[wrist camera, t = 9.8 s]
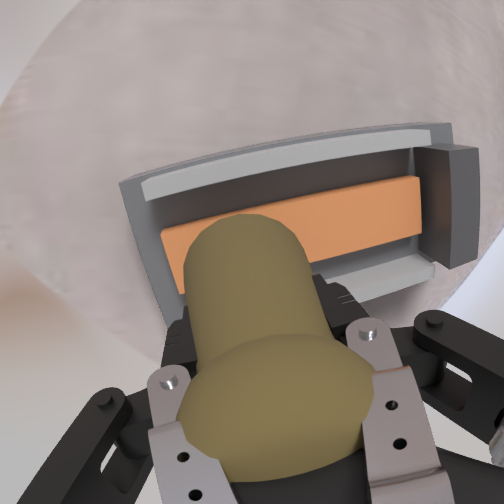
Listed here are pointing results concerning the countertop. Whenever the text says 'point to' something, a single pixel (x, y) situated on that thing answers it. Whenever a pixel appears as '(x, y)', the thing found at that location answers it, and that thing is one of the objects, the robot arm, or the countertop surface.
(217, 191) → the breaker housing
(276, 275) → the olive pawn figure
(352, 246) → the lever
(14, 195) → the countertop surface
